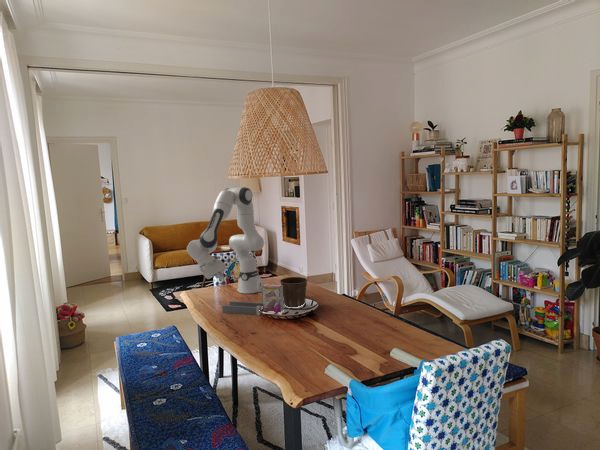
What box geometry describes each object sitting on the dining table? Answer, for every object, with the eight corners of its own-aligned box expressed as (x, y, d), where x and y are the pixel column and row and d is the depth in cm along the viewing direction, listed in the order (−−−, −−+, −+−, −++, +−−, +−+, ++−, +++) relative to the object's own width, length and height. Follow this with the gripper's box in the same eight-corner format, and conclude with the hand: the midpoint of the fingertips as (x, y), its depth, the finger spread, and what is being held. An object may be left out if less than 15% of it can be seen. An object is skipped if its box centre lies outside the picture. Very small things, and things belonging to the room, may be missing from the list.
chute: (231, 307, 270) (231, 298, 270) (268, 309, 262) (267, 300, 262) (221, 313, 259) (221, 304, 259) (259, 315, 251) (258, 306, 250)
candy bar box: (262, 314, 253) (261, 286, 251) (266, 311, 257) (264, 283, 256) (281, 315, 249) (279, 286, 247) (284, 313, 253) (283, 284, 252)
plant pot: (314, 306, 263) (313, 279, 261) (291, 312, 253) (289, 284, 252) (298, 301, 276) (297, 275, 274) (276, 306, 267) (274, 280, 265)
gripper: (200, 263, 258) (217, 280, 256) (218, 255, 277) (234, 271, 275) (195, 270, 260) (211, 287, 258) (213, 262, 279) (228, 278, 277)
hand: (223, 278), depth 266 cm, fingers closed
